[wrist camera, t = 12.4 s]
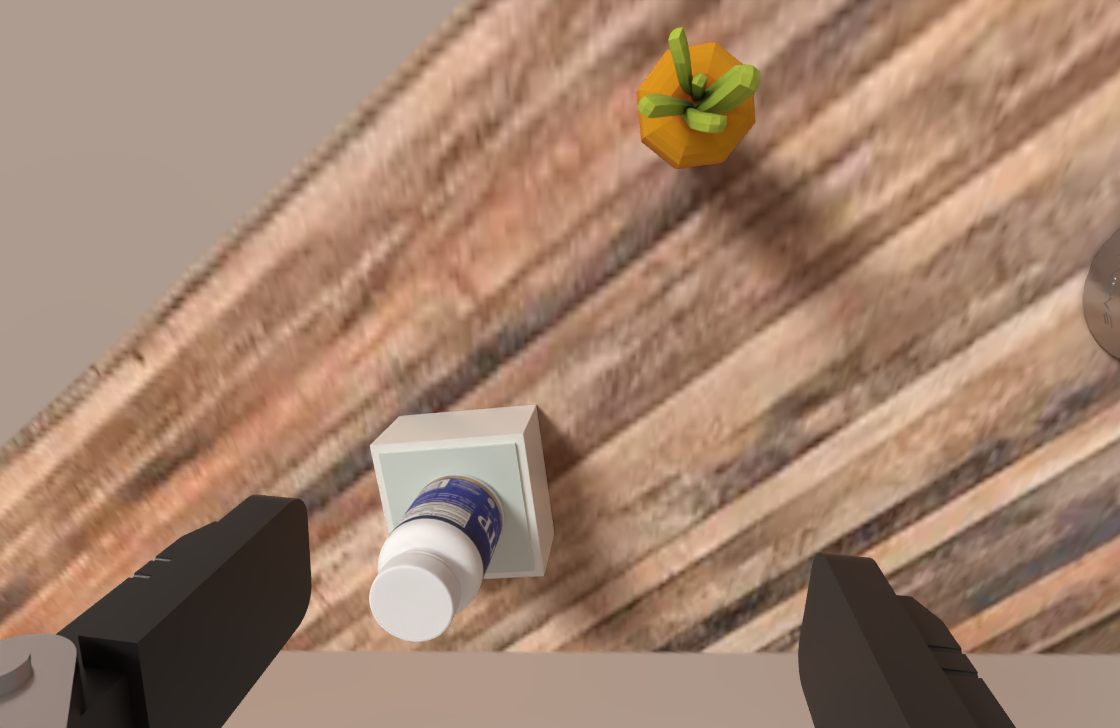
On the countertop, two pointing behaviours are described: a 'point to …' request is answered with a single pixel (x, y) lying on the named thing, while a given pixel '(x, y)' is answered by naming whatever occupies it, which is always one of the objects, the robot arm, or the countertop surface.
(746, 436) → the countertop surface
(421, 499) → the pill bottle
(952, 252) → the countertop surface
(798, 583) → the countertop surface
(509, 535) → the pedestal
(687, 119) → the carrot
